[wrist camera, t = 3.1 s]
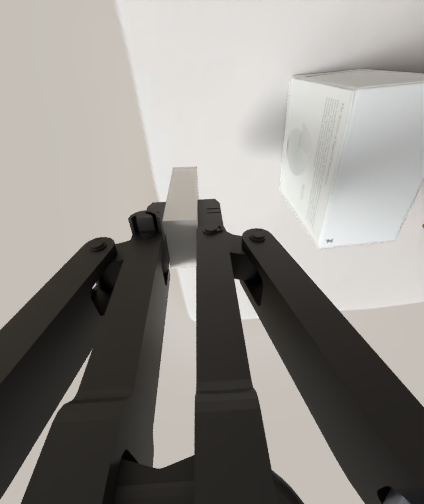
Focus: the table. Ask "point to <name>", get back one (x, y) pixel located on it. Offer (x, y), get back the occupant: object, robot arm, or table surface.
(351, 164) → the skincare box
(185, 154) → the table surface
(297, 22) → the table surface
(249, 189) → the table surface
